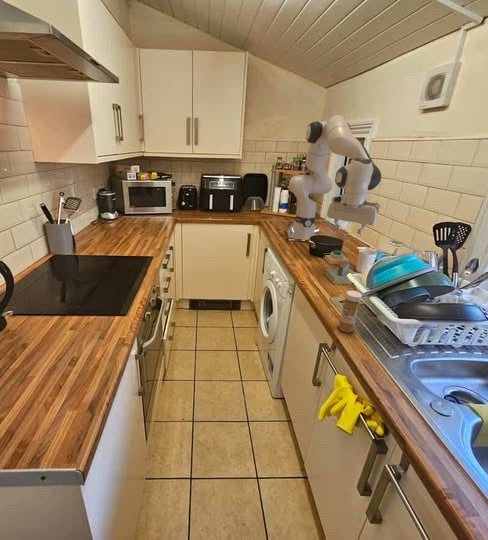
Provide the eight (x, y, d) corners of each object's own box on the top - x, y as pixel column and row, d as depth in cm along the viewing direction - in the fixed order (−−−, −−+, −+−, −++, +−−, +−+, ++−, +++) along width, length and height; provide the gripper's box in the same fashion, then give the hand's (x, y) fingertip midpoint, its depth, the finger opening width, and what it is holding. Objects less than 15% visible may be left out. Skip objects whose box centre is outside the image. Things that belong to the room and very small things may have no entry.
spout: (344, 270, 139) (345, 261, 137) (348, 271, 138) (350, 262, 136) (337, 275, 133) (339, 266, 132) (341, 276, 132) (343, 267, 130)
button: (332, 253, 158) (332, 250, 157) (338, 253, 158) (339, 250, 158) (335, 255, 155) (335, 252, 154) (341, 255, 155) (342, 252, 154)
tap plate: (323, 273, 142) (324, 267, 141) (348, 273, 143) (349, 267, 141) (333, 285, 131) (335, 278, 129) (361, 285, 131) (362, 278, 130)
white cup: (374, 275, 142) (379, 255, 138) (356, 273, 143) (361, 253, 139) (369, 268, 149) (374, 250, 145) (352, 267, 150) (357, 248, 146)
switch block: (322, 257, 162) (324, 250, 161) (340, 257, 163) (342, 250, 161) (330, 264, 153) (331, 257, 152) (349, 264, 154) (350, 257, 152)
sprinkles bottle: (336, 329, 99) (344, 293, 94) (341, 323, 103) (349, 288, 97) (350, 334, 97) (359, 298, 91) (354, 329, 100) (364, 293, 95)
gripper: (383, 201, 122) (375, 234, 127) (334, 195, 134) (328, 226, 140) (379, 203, 117) (371, 237, 123) (328, 197, 130) (323, 228, 135)
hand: (348, 231), depth 131 cm, fingers open, 8 cm apart
